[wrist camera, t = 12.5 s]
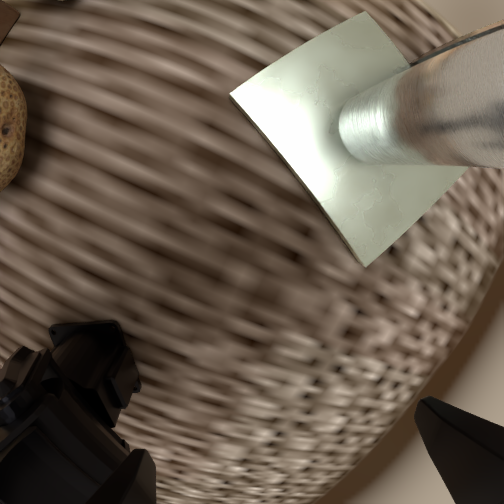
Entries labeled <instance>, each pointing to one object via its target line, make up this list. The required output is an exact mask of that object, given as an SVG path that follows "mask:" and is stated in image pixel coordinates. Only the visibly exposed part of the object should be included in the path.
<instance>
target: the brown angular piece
mask: <svg viewBox="0 0 504 504" xmlns="http://www.w3.org/2000/svg"><path fill="white" fill-rule="evenodd" d="M19 15H20V13H19V12H18V11H17V10H15V9H14V8H12V7H11V6H10V5H8V4H7V3H5V2H4V1H2V0H0V44H1V43H2V41H3V40H4V38H5V36H6V35H7V33H8V32H9V30H10V29H11V27H12V26H13V24H14V23H15V22H16V20H17V19H18V17H19Z"/></svg>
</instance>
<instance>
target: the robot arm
mask: <svg viewBox="0 0 504 504" xmlns="http://www.w3.org/2000/svg"><path fill="white" fill-rule="evenodd" d="M111 326H113V327H115V329H112V328H111ZM54 330H55V331H56V333H55V332H54ZM49 334H50V336H51V339H52V341H53V344H54V346H55V347H54V348H53V349H52V350H51V352H50V351H49V349H48V348H45V349H42V350H40V351H38V352H34V350H30V349H28V348H27V347H25V346H22V347H20V348H18V349H17V350H16V351H15V352H14V353H13V354H12V355H11V356H10V357H9V359H8V360H7V361H6V362H5V364H4V365H3V368H2V369H1V370H0V504H156V466H155V463H154V461H153V459H152V458H151V456H150V454H149V453H148V451H147V450H146V449H134V450H133V451H132V452H131V453H130V448H129V444H128V443H127V442H126V441H125V440H123V439H121V438H120V437H119V436H118V435H117V434H116V433H115V432H114V431H113V430H112V429H111V428H114V427H115V425H116V422H117V420H118V417H119V414H120V411H121V409H126V407H127V406H128V404H129V401H130V398H131V395H132V393H138V392H140V389H141V384H140V381H139V379H138V375H139V373H138V370H137V368H136V365H135V362H134V359H133V357H132V354H131V351H130V348H129V347H128V346H126V343H125V340H124V337H123V334H122V331H121V328H120V325H119V324H118V323H117V322H116V321H114V320H109V321H97V322H85V323H71V324H55V325H52V326H51V327H50V328H49ZM135 386H136V387H137V388H135ZM414 419H415V423H416V425H417V427H418V429H419V432H420V434H421V437H422V439H423V442H424V444H425V446H426V449H427V451H428V454H429V455H430V457H431V459H432V461H433V463H434V465H435V466H436V468H437V470H438V472H439V474H440V475H441V477H442V479H443V481H444V483H445V485H446V487H447V488H448V490H449V492H450V494H451V496H452V498H453V500H454V502H455V503H456V504H504V427H503V426H500V425H498V424H495V423H493V422H490V421H488V420H485V419H483V418H480V417H478V416H476V415H473V414H471V413H468V412H466V411H464V410H461V409H459V408H457V407H454V406H452V405H450V404H448V403H445V402H443V401H441V400H439V399H436V398H434V397H432V396H427V397H424V398H422V399H420V400H419V401H418V404H417V407H416V411H415V414H414Z"/></svg>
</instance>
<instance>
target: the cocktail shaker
mask: <svg viewBox="0 0 504 504" xmlns="http://www.w3.org/2000/svg"><path fill="white" fill-rule="evenodd" d="M339 131H340V135H341V138H342V141H343V143H344V145H345V147H346V148H347V150H348V151H349V152H350V153H351V154H352V155H353V156H354V157H355V158H356V159H358V160H359V161H361V162H363V163H366V164H369V165H436V166H465V167H483V168H498V169H504V29H502V30H499V31H496V32H494V33H491V34H488V35H485V36H483V37H480V38H478V39H475V40H473V41H470V42H468V43H465V44H463V45H460V46H458V47H455V48H453V49H451V50H448V51H446V52H444V53H442V54H439V55H437V56H435V57H433V58H430V59H428V60H426V61H424V62H422V63H419V64H417V65H415V66H413V67H411V68H409V69H407V70H405V71H403V72H401V73H399V74H397V75H395V76H393V77H391V78H389V79H387V80H385V81H383V82H381V83H379V84H377V85H375V86H373V87H371V88H369V89H367V90H365V91H363V92H362V93H360V94H358V95H356V96H354V97H352V98H351V99H350V100H348V101H347V102H346V104H345V105H344V106H343V108H342V110H341V113H340V117H339Z"/></svg>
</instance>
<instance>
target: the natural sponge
mask: <svg viewBox="0 0 504 504" xmlns="http://www.w3.org/2000/svg"><path fill="white" fill-rule="evenodd" d="M26 122H27V105H26V100H25V97H24V94H23V92H22V90H21V88H20V87H19V85H18V83H17V82H16V80H15V79H14V77H13V76H12V75H11V74H10V73H9V72H8V71H7V70H6V69H5V68H4V67H3V66H2V65H0V192H1V191H2V190H3V189H4V188H5V187H6V186H7V185H8V184H9V183H10V182H11V181H12V180H13V178H14V177H15V176H16V174H17V173H18V171H19V169H20V166H21V164H22V160H23V155H24V149H25V133H26Z"/></svg>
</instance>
